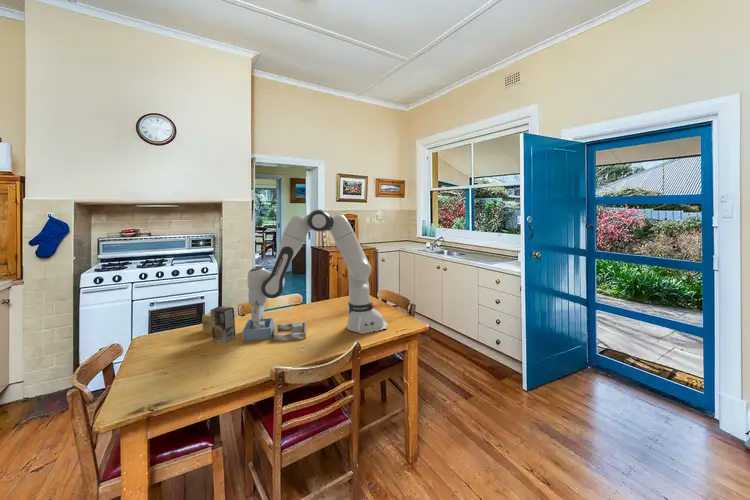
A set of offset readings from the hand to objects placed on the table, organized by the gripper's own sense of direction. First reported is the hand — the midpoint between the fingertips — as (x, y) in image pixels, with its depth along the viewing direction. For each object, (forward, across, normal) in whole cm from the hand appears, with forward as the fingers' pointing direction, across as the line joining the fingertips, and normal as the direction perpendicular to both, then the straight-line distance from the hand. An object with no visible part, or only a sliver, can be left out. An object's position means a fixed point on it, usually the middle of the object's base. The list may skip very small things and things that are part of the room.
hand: (259, 324), depth 167 cm
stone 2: (+5, -4, -20) cm, 20 cm away
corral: (+5, -4, -16) cm, 17 cm away
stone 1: (+4, 0, 0) cm, 4 cm away
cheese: (+5, +8, +23) cm, 25 cm away
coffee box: (+5, -4, +16) cm, 18 cm away
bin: (+5, 0, 0) cm, 5 cm away
